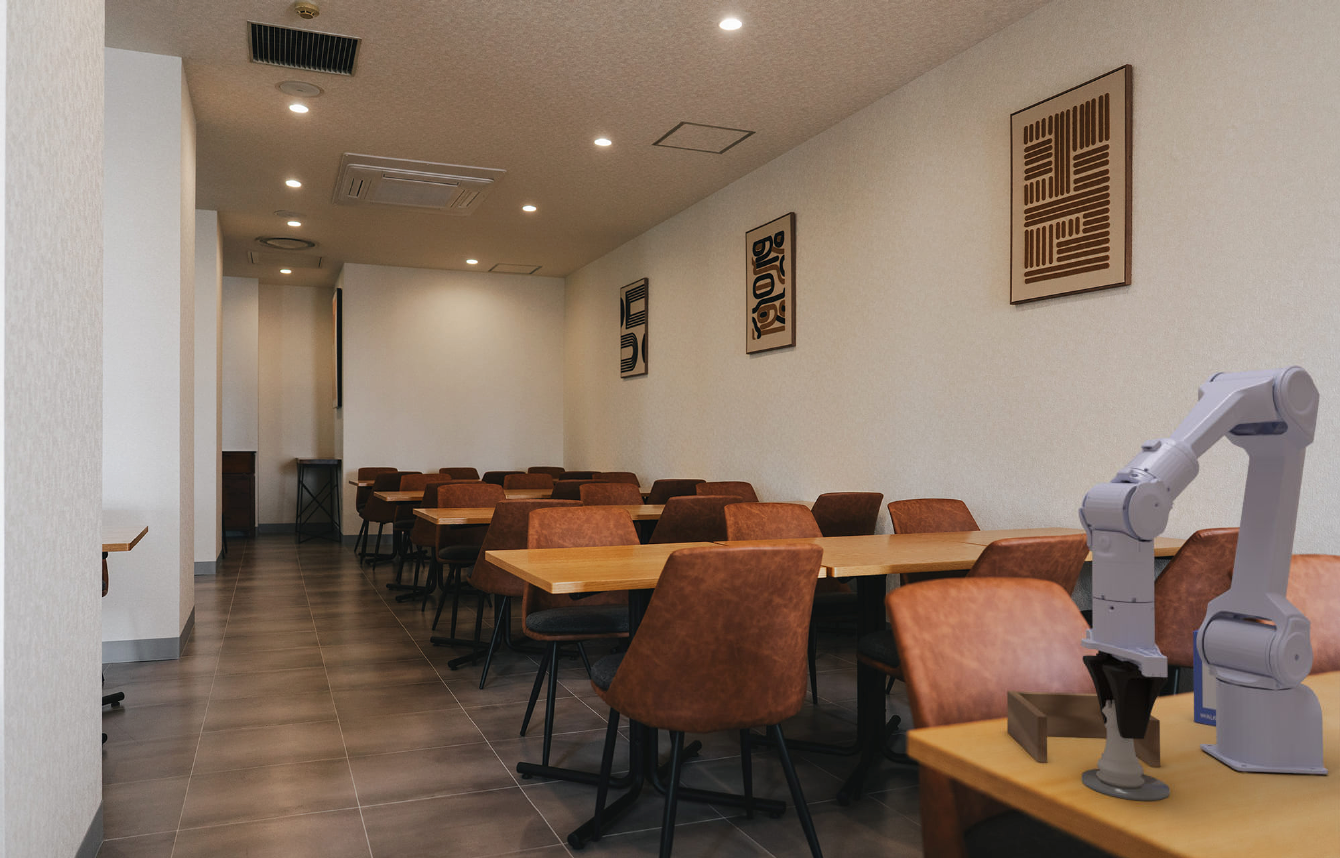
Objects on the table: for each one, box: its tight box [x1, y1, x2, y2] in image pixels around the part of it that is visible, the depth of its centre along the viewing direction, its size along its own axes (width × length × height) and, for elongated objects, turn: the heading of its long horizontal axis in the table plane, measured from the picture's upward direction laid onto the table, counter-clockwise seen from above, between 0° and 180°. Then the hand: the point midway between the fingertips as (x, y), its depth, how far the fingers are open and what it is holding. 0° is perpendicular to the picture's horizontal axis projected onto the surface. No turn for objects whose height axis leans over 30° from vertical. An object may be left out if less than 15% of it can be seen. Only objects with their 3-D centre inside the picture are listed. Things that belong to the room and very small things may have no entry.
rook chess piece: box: [1096, 700, 1145, 789], centre depth 90 cm, size 4×4×8 cm
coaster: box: [1081, 768, 1170, 802], centre depth 90 cm, size 8×8×1 cm
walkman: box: [1192, 628, 1216, 727], centre depth 112 cm, size 8×3×12 cm, turn 44°
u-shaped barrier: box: [1006, 690, 1161, 768], centre depth 102 cm, size 13×11×5 cm
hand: (1123, 732), depth 90 cm, fingers closed on rook chess piece, 3 cm apart
